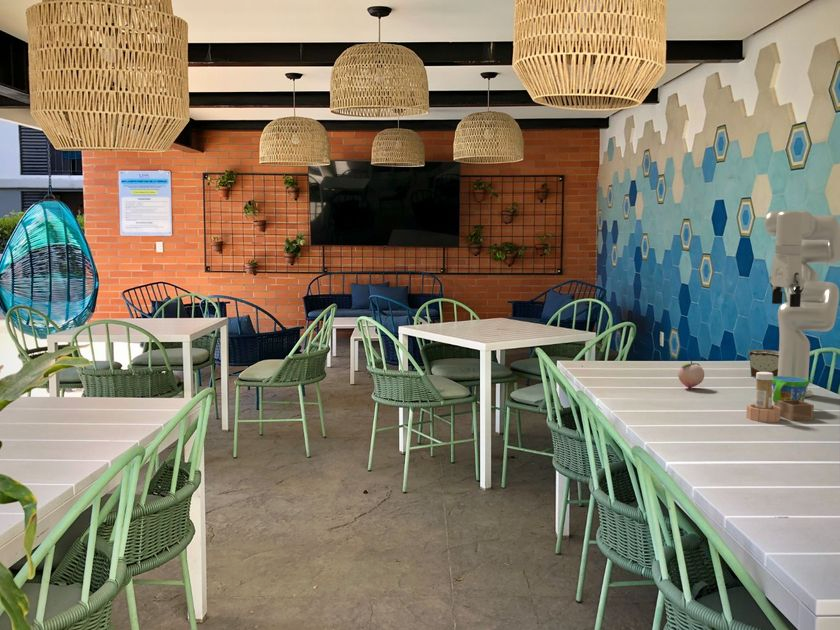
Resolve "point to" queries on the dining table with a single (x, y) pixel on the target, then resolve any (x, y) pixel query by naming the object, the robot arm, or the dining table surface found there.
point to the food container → (764, 361)
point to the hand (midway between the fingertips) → (785, 305)
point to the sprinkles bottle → (764, 390)
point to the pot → (763, 413)
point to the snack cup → (789, 388)
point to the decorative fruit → (691, 374)
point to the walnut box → (796, 410)
